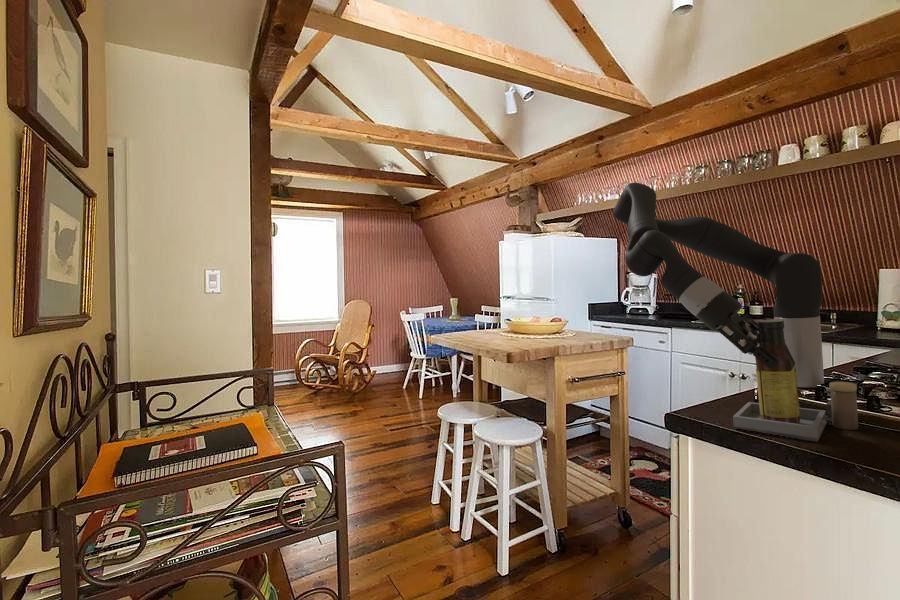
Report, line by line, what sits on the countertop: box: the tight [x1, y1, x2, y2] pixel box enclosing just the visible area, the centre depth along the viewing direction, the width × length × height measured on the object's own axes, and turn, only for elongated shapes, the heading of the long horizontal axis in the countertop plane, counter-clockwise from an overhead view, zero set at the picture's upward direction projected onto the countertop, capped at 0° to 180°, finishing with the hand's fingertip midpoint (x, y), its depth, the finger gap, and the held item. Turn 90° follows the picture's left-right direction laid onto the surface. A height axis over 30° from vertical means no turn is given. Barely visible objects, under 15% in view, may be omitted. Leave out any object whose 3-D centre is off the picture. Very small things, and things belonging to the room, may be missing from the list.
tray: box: [732, 401, 828, 443], centre depth 85 cm, size 12×13×2 cm
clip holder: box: [825, 399, 832, 422], centre depth 91 cm, size 5×13×3 cm, turn 44°
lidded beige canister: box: [828, 381, 859, 431], centre depth 82 cm, size 4×4×8 cm
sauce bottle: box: [754, 319, 801, 424], centre depth 85 cm, size 7×6×20 cm
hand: (780, 361), depth 84 cm, fingers open, 8 cm apart
